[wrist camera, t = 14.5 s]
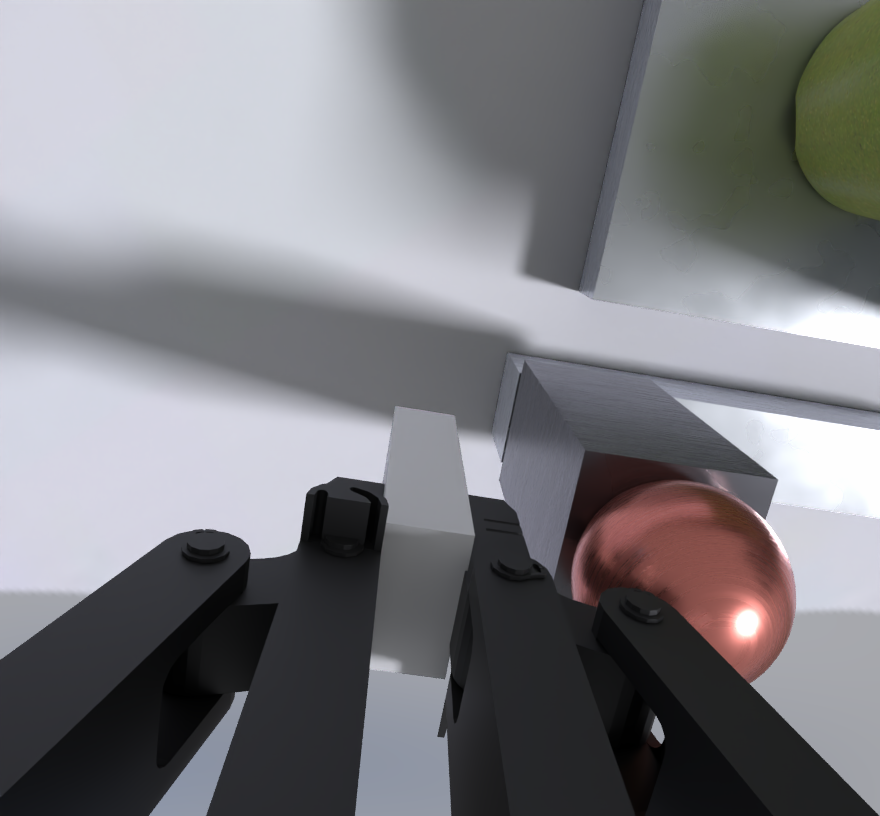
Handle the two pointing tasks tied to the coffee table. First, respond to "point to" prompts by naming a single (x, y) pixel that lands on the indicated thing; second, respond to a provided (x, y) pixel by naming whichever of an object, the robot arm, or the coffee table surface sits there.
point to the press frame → (736, 232)
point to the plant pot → (843, 114)
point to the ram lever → (648, 507)
